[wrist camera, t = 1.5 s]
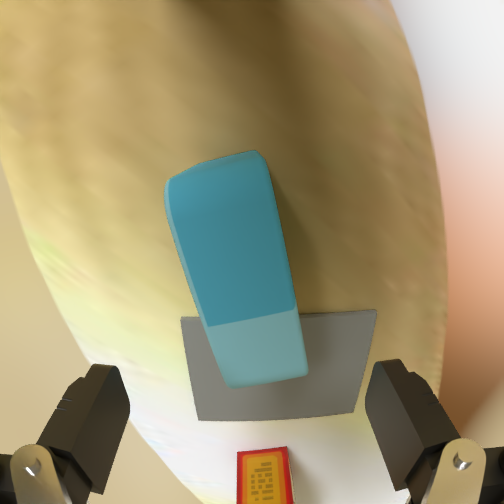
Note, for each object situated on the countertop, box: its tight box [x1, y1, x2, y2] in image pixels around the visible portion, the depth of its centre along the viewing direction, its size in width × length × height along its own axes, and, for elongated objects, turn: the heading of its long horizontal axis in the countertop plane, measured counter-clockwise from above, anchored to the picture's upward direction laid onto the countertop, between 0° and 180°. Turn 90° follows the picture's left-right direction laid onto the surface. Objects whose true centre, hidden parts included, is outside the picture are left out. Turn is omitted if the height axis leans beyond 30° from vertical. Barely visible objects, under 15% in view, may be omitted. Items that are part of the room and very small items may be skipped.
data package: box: [164, 150, 309, 389], centre depth 20 cm, size 12×4×12 cm, turn 13°
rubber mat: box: [180, 310, 377, 421], centre depth 30 cm, size 14×18×1 cm
